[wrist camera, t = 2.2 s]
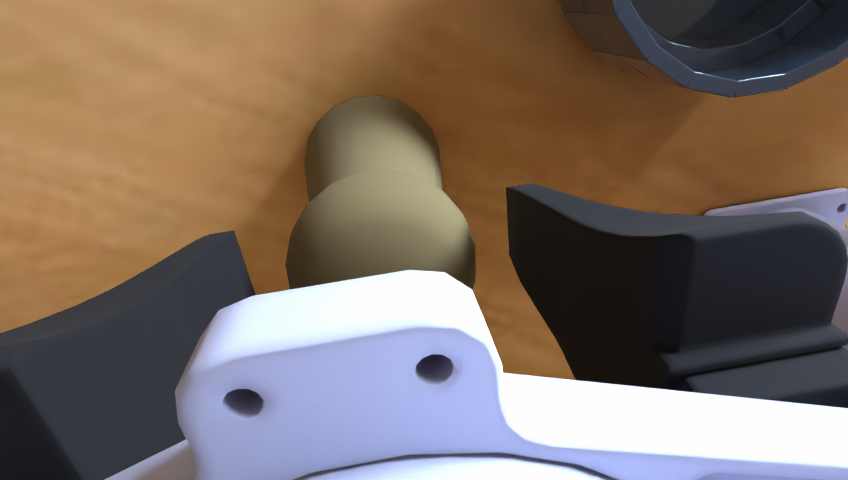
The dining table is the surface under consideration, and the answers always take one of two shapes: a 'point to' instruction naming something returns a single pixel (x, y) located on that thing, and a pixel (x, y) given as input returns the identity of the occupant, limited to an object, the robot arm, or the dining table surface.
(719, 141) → the dining table surface
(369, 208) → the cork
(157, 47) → the dining table surface
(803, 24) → the blue bowl
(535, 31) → the dining table surface
